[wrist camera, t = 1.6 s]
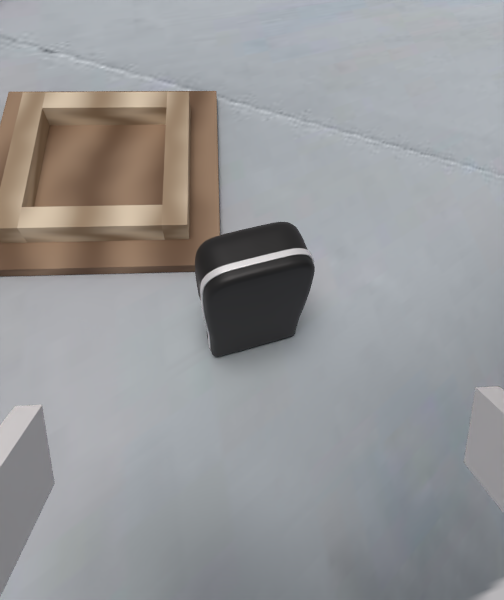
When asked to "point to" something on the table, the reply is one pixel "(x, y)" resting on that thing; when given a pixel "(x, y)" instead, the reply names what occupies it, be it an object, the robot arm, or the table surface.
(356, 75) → the table surface
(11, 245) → the holder
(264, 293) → the battery charger
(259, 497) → the table surface
